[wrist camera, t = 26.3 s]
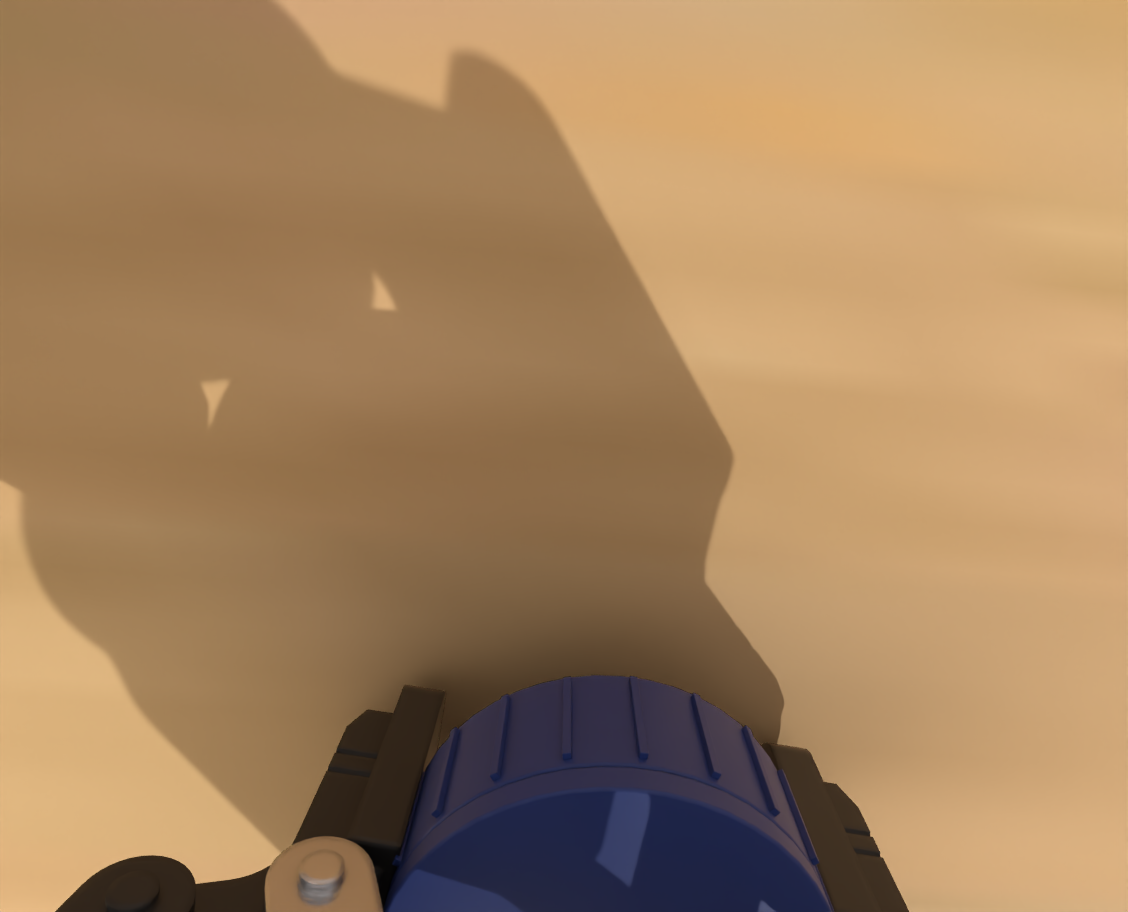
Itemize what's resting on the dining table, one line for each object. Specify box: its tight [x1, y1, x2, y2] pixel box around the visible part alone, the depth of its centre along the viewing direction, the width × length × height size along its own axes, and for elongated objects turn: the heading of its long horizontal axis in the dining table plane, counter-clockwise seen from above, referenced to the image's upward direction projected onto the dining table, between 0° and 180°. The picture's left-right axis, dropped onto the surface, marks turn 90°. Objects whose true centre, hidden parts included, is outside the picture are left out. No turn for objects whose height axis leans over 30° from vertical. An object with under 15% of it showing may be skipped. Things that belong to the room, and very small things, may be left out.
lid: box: [383, 675, 834, 912], centre depth 10 cm, size 6×6×2 cm
